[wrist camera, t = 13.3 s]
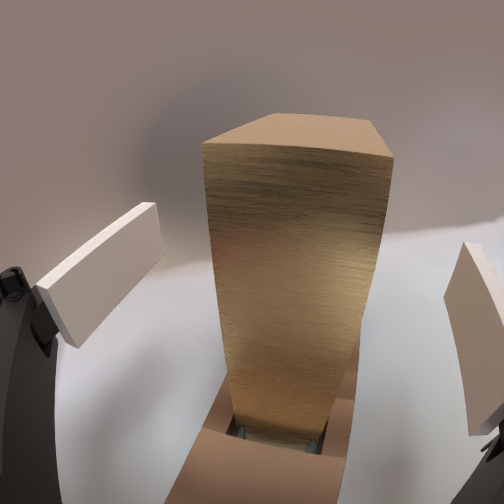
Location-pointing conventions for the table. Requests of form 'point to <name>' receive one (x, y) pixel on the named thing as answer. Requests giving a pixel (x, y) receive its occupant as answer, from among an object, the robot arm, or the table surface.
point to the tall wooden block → (293, 262)
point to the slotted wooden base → (266, 458)
